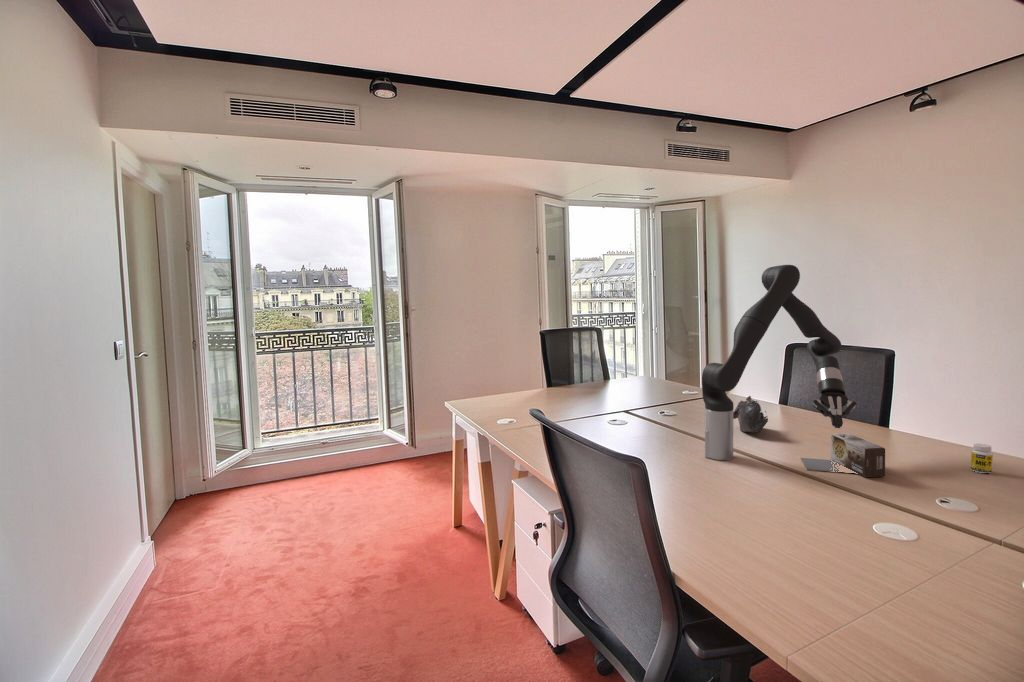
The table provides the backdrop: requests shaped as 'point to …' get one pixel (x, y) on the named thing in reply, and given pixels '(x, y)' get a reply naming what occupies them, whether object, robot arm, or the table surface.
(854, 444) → the coffee box
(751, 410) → the dark grey lumpy sculpture
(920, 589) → the table surface
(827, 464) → the grey flat sheet
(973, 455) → the supplement bottle
